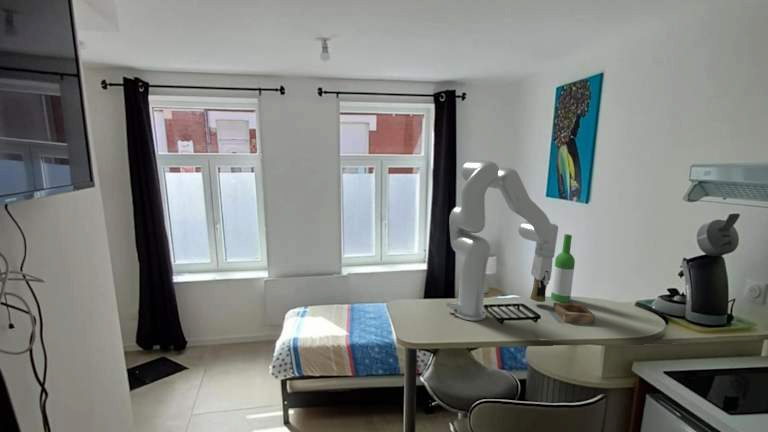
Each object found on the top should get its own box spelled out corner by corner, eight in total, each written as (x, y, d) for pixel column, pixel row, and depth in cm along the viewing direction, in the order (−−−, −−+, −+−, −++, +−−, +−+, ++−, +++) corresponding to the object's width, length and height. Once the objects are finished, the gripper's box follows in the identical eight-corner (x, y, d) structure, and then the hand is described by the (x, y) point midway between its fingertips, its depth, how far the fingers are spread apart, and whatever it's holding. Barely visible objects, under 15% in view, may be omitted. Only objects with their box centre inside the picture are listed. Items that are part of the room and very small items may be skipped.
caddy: (564, 322, 138) (565, 313, 138) (552, 310, 149) (553, 302, 149) (593, 324, 138) (595, 315, 137) (580, 312, 149) (581, 304, 148)
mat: (558, 323, 138) (558, 322, 138) (545, 310, 150) (545, 309, 150) (596, 326, 137) (596, 325, 137) (580, 312, 150) (580, 311, 150)
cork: (546, 302, 150) (550, 277, 149) (531, 300, 152) (535, 275, 150) (543, 297, 156) (547, 273, 155) (528, 295, 158) (532, 271, 156)
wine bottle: (546, 297, 165) (554, 233, 160) (560, 296, 167) (568, 232, 162) (559, 304, 157) (567, 237, 153) (573, 303, 160) (582, 236, 155)
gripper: (528, 247, 160) (523, 287, 162) (543, 256, 143) (536, 300, 146) (546, 248, 159) (540, 288, 162) (562, 258, 143) (555, 302, 145)
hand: (538, 293), depth 154 cm, fingers closed on cork, 4 cm apart
